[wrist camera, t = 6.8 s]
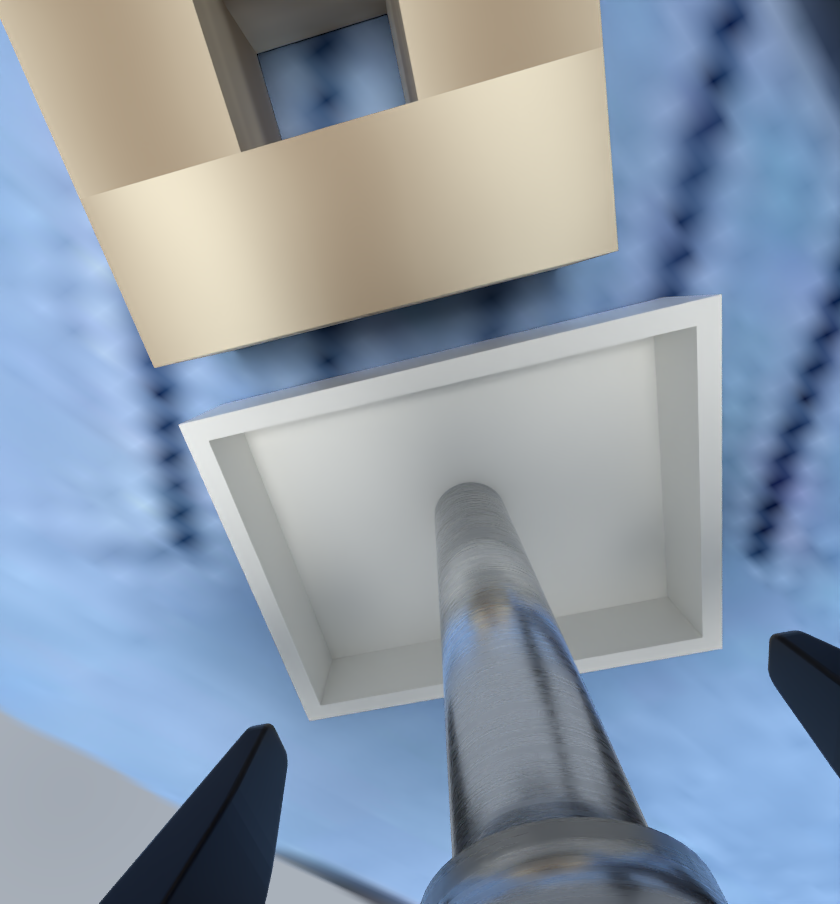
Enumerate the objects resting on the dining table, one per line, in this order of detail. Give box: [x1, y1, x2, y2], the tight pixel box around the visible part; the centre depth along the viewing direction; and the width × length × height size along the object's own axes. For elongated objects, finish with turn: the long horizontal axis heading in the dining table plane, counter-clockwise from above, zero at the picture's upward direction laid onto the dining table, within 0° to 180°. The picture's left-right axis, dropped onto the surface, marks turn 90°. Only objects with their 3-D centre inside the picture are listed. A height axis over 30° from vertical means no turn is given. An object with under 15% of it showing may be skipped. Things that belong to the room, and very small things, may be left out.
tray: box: [179, 294, 722, 721], centre depth 13 cm, size 14×11×2 cm
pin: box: [421, 482, 728, 904], centre depth 9 cm, size 3×3×11 cm
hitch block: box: [0, 0, 618, 368], centre depth 9 cm, size 10×10×4 cm
